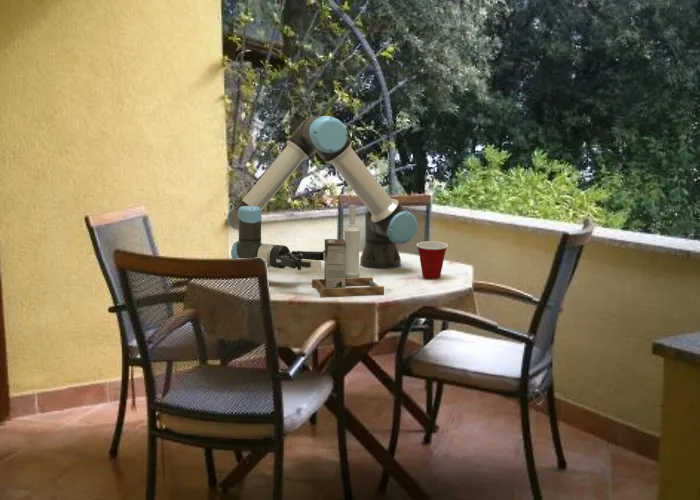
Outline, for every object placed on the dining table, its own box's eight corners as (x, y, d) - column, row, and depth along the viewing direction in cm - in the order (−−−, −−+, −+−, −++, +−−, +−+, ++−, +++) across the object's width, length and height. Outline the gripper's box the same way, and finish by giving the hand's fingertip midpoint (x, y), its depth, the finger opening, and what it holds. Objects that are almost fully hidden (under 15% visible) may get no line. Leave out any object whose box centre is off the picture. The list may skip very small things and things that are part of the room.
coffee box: (323, 288, 256) (324, 238, 253) (343, 288, 256) (344, 238, 254) (325, 294, 247) (325, 243, 244) (346, 294, 247) (346, 243, 245)
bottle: (361, 277, 275) (362, 205, 270) (356, 279, 270) (357, 206, 266) (347, 275, 276) (347, 204, 272) (342, 278, 271) (342, 205, 267)
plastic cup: (415, 280, 269) (415, 245, 267) (415, 274, 280) (416, 240, 278) (447, 281, 268) (448, 246, 266) (447, 275, 279) (447, 241, 277)
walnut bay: (371, 284, 262) (371, 277, 262) (383, 294, 247) (384, 286, 247) (312, 287, 258) (312, 279, 257) (320, 297, 243) (320, 289, 242)
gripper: (294, 261, 271) (349, 267, 262) (252, 273, 249) (311, 280, 240) (294, 239, 270) (350, 244, 260) (252, 250, 248) (311, 256, 239)
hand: (331, 262), depth 250 cm, fingers open, 13 cm apart
